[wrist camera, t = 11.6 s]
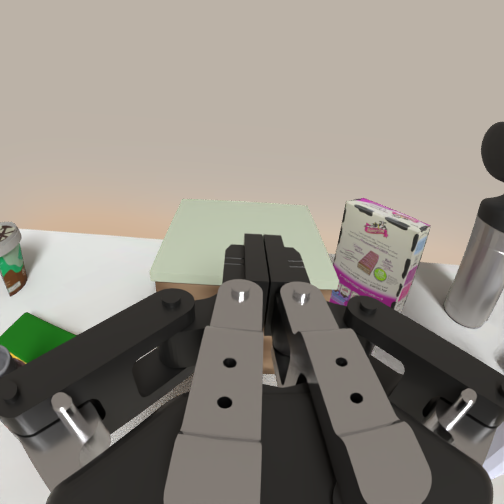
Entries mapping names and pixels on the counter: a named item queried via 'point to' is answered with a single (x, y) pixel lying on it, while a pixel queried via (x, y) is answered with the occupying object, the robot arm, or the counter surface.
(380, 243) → the candy bar box
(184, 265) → the lid
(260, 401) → the robot arm
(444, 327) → the counter surface
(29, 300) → the counter surface
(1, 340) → the dish sponge
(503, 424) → the soap bottle
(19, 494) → the counter surface
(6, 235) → the food container
